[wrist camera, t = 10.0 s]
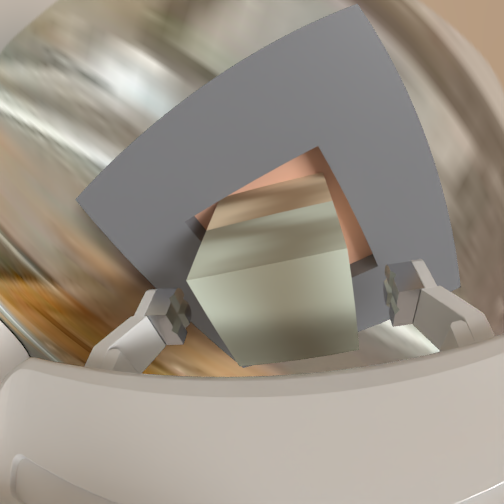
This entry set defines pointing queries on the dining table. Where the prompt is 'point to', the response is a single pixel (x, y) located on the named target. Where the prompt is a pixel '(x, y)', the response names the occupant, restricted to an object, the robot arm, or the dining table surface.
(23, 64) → the dining table surface
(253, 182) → the pocket plate
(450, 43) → the dining table surface
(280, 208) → the faceted block
